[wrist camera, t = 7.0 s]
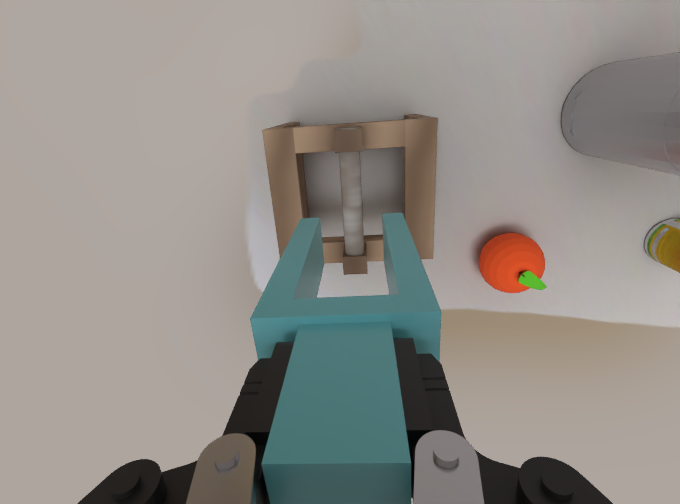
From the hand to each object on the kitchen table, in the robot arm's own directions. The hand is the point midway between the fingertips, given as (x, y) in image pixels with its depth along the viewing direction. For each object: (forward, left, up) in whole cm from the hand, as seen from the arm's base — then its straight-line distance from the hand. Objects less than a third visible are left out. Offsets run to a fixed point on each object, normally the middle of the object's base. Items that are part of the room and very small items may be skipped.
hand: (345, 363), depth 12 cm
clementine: (-18, +11, -33) cm, 39 cm away
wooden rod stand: (0, 0, -33) cm, 33 cm away
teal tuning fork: (0, 0, -12) cm, 12 cm away
